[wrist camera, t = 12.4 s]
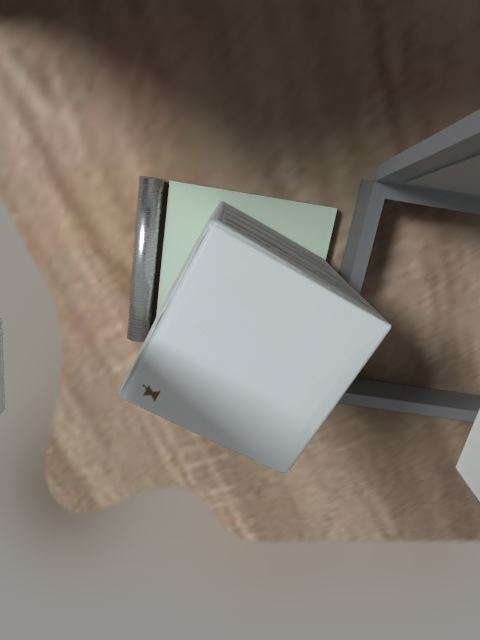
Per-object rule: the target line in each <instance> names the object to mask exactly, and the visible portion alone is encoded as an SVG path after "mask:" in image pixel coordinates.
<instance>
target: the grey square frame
mask: <svg viewBox="0 0 480 640" xmlns="http://www.w3.org/2000/svg"><path fill="white" fill-rule="evenodd" d="M385 199H390V200H396V201H402V202H407V203H413V204H419V205H425V206H431V207H437V208H443V209H449V210H455V211H461V212H467V213H473V214H479V215H480V199H477V198H471V197H465V196H459V195H453V194H447V193H441V192H436V191H430V190H424V189H418V188H412V187H406V186H400V185H394V184H389V183H383V182H377V181H366V180H362V182H361V186H360V190H359V194H358V198H357V202H356V207H355V211H354V215H353V219H352V223H351V227H350V232H349V236H348V240H347V244H346V248H345V252H344V256H343V261H342V265H341V269H340V273H339V275H340V276H341V277H342V278H343V279H344V280H345V281H346V282H347V283H348V284H349V285H350V286H351V287H352V288H353V289H354V290H355V291H356V292H357V293H359V294H360V293H361V289H362V285H363V281H364V277H365V273H366V270H367V266H368V262H369V258H370V254H371V250H372V246H373V243H374V239H375V235H376V231H377V227H378V223H379V220H380V216H381V212H382V208H383V204H384V200H385ZM338 403H340V404H347V405H354V406H361V407H368V408H376V409H383V410H390V411H397V412H404V413H411V414H419V415H426V416H433V417H440V418H447V419H455V420H462V421H469V422H474V421H475V419H476V416H477V414H478V411H479V409H480V396H478V395H471V394H464V393H457V392H450V391H443V390H436V389H429V388H422V387H415V386H408V385H401V384H394V383H387V382H380V381H373V380H366V379H359V378H355V379H354V381H353V382H352V383H351V385H350V386H349V388H348V389H347V390H346V392H345V393H344V395H343V396H342V397H341V399H340V400H339V402H338Z"/></svg>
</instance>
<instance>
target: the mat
mask: <svg viewBox="0 0 480 640" xmlns="http://www.w3.org/2000/svg"><path fill="white" fill-rule="evenodd" d="M220 201H223V202H225V203H227V204H229V205H231V206H233V207H235V208H236V209H238V210H240V211H242V212H243V213H245V214H247V215H249V216H251V217H252V218H254V219H256V220H258V221H259V222H261V223H263V224H264V225H266V226H268V227H270V228H271V229H273V230H275V231H277V232H278V233H280V234H282V235H284V236H285V237H287V238H289V239H290V240H292V241H294V242H296V243H297V244H299V245H301V246H302V247H304V248H306V249H308V250H309V251H311V252H313V253H315V254H316V255H318V256H320V257H322V258H323V259H324V260H325V261H326V257H327V252H328V248H329V243H330V239H331V235H332V230H333V226H334V221H335V217H336V213H337V208H334V207H328V206H322V205H316V204H310V203H304V202H298V201H292V200H285V199H279V198H273V197H267V196H261V195H255V194H249V193H243V192H237V191H231V190H225V189H219V188H213V187H207V186H201V185H195V184H189V183H183V182H177V181H169V191H168V201H167V211H166V221H165V231H164V242H163V252H162V262H161V272H160V282H159V292H158V302H157V312H156V317H157V315H158V313H159V311H160V309H161V307H162V305H163V303H164V301H165V299H166V297H167V295H168V293H169V291H170V289H171V287H172V285H173V283H174V281H175V279H176V278H177V276H178V274H179V272H180V270H181V268H182V266H183V264H184V263H185V261H186V259H187V257H188V255H189V253H190V252H191V250H192V248H193V246H194V245H195V243H196V241H197V239H198V237H199V235H200V234H201V232H202V230H203V228H204V227H205V225H206V223H207V221H208V220H209V218H210V216H211V215H212V213H213V211H214V210H215V208H216V206H217V205H218V203H219V202H220Z"/></svg>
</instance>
